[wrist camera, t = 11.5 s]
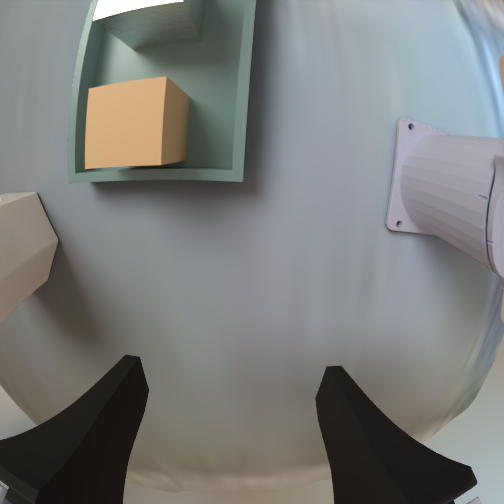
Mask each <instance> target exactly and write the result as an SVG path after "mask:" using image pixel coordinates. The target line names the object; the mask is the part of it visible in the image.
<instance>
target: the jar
mask: <svg viewBox="0 0 504 504" xmlns="http://www.w3.org/2000/svg"><path fill="white" fill-rule="evenodd" d="M57 244H58V238H57V236H56V234H55V232H54V230H53V228H52V226H51V224H50V222H49V219H48V217H47V215H46V213H45V211H44V209H43V206H42V204H41V202H40V200H39V197H38V195H37V193H36V192H23V193H6V194H3V195H0V323H1V322H2V321H3V320H4V319H5V318H6V317H7V316H8V315H9V314H10V313H11V312H12V311H13V310H14V309H16V308H17V307H18V306H19V305H20V304H21V303H22V302H23V301H24V300H25V299H26V298H28V297H29V296H30V295H31V294H32V293H33V292H34V291H35V290H37V289H38V288H39V287H40V286H41V285H42V284H44V283H45V282H46V281H47V280H48V278H49V273H50V269H51V265H52V262H53V258H54V254H55V251H56V247H57Z"/></svg>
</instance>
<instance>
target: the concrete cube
mask: <svg viewBox="0 0 504 504" xmlns="http://www.w3.org/2000/svg"><path fill="white" fill-rule="evenodd" d="M206 3H207V0H99V2H98V5H97V8H96V12H95V15H94V19H93V21H94V22H96V23H97V24H99V25H100V26H102V27H103V28H104V29H106V30H107V31H109V32H110V33H111V34H113V35H114V36H115V37H117V38H118V39H119V40H121V41H122V42H123V43H125V44H126V45H127V46H129V47H130V48H131V49H132V50H134V49H139V48H145V47H152V46H159V45H167V44H176V43H188V42H201V40H202V32H203V24H204V16H205V9H206Z"/></svg>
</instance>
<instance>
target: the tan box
mask: <svg viewBox="0 0 504 504" xmlns="http://www.w3.org/2000/svg"><path fill="white" fill-rule="evenodd" d="M189 101H190V97H189V96H188V95H187V94H186V93H185V92H184V91H183V90H182V89H180V88H179V87H178V86H177V85H176V84H175V83H174V82H172V81H171V80H170V79H169V78H168V77H157V78H148V79H140V80H132V81H126V82H120V83H114V84H109V85H103V86H99V87H94V88H89V94H88V103H87V115H86V133H85V169H92V168H105V167H122V166H145V165H164V164H169V163H174V162H180V161H185V160H186V150H187V130H188V114H189Z"/></svg>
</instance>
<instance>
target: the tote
mask: <svg viewBox="0 0 504 504" xmlns="http://www.w3.org/2000/svg"><path fill="white" fill-rule="evenodd" d="M98 2H99V0H92V2H91V5H90V8H89V12H88V15H87V18H86V22H85V25H84V29H83V33H82V37H81V41H80V46H79V51H78V55H77V61H76V66H75V72H74V79H73V86H72V94H71V103H70V114H69V130H68V184H70V183H84V182H101V181H126V180H209V181H234V182H243V176H244V159H245V144H246V128H247V114H248V99H249V85H250V72H251V59H252V46H253V34H254V22H255V10H256V0H207V3H206V9H205V16H204V24H203V32H202V40H201V42H188V43H176V44H167V45H159V46H152V47H145V48H139V49H134V50H132V49H131V48H130V47H129V46H127V45H126V44H125V43H123V42H122V41H121V40H119V39H118V38H117V37H115V36H114V35H113V34H111V33H110V32H109V31H107V30H106V29H104V28H103V27H102V26H100V25H99V24H97V23H96V22H94V21H93V19H94V15H95V12H96V8H97V5H98ZM157 77H168V78H169V79H170V80H171V81H172V82H174V83H175V84H176V85H177V86H178V87H179V88H180V89H182V90H183V91H184V92H185V93H186V94H187V95H188V96H189V97H190V101H189V114H188V130H187V150H186V160H185V161H180V162H174V163H169V164H164V165H145V166H122V167H105V168H92V169H85V133H86V115H87V103H88V94H89V88H94V87H99V86H103V85H109V84H114V83H120V82H126V81H132V80H140V79H148V78H157Z"/></svg>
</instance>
